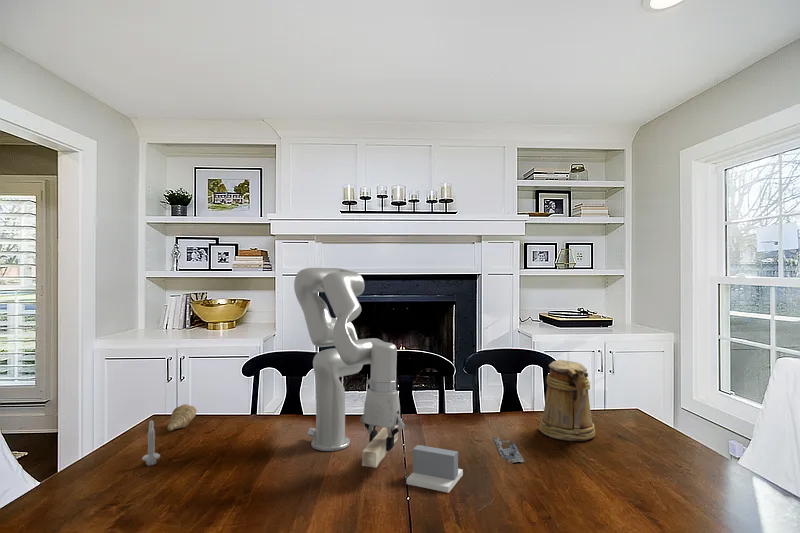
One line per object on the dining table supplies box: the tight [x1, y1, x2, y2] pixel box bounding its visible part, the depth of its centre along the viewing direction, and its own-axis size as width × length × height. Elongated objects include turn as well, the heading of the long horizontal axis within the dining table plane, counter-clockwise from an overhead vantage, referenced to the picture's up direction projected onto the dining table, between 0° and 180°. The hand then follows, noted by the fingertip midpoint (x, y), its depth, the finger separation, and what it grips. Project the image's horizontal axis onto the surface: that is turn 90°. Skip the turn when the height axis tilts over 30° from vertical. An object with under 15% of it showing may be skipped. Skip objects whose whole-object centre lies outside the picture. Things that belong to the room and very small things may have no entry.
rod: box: [361, 424, 399, 468], centre depth 139 cm, size 4×22×4 cm, turn 165°
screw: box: [141, 420, 161, 466], centre depth 142 cm, size 13×5×5 cm
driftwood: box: [492, 436, 526, 464], centre depth 152 cm, size 21×7×2 cm, turn 177°
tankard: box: [538, 359, 596, 442], centre depth 167 cm, size 18×24×25 cm
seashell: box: [166, 403, 198, 432], centre depth 174 cm, size 14×8×8 cm, turn 2°
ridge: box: [406, 444, 464, 493], centre depth 131 cm, size 12×12×8 cm
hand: (381, 447), depth 139 cm, fingers closed on rod, 4 cm apart
